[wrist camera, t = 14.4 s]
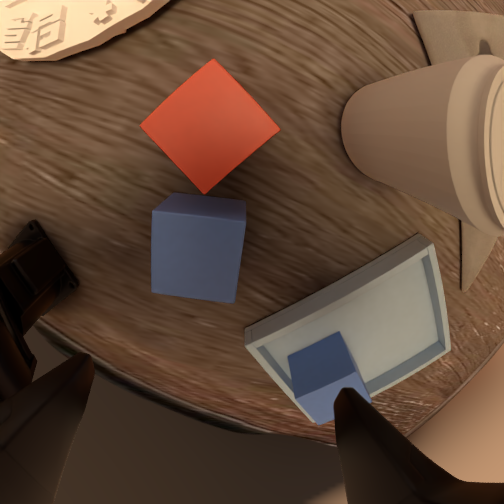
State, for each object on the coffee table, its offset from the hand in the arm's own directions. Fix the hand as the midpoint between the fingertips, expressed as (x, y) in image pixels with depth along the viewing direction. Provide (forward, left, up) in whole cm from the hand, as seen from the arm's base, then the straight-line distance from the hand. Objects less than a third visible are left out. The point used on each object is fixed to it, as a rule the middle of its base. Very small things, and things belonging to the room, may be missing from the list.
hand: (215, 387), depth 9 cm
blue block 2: (+2, -11, -10) cm, 15 cm away
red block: (+4, +7, -11) cm, 14 cm away
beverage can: (+13, +2, -11) cm, 17 cm away
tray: (+5, -12, -11) cm, 17 cm away
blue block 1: (0, +2, -11) cm, 11 cm away
